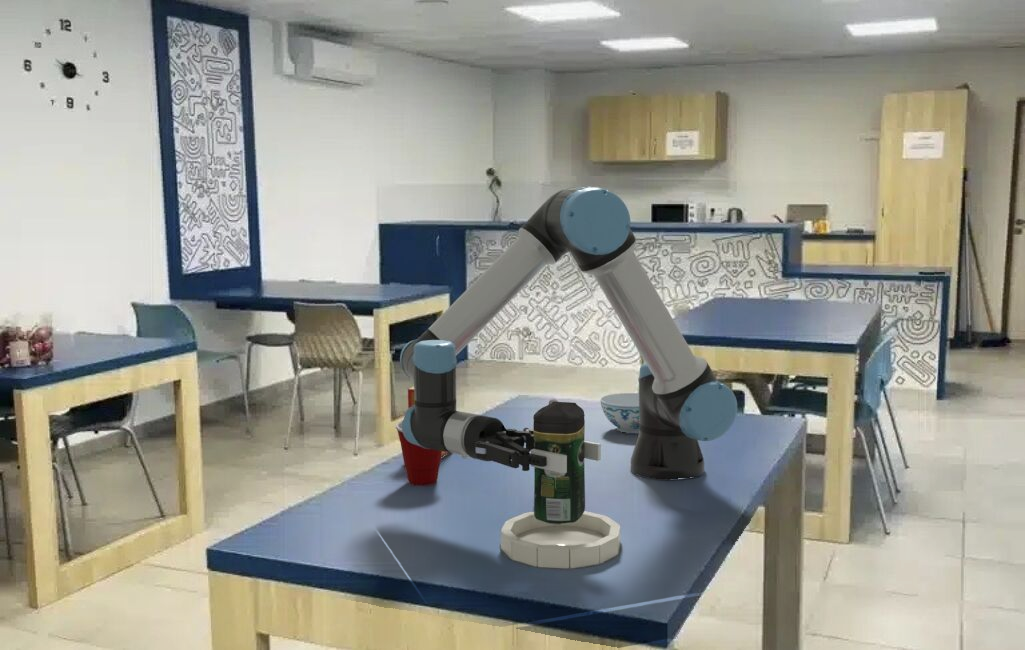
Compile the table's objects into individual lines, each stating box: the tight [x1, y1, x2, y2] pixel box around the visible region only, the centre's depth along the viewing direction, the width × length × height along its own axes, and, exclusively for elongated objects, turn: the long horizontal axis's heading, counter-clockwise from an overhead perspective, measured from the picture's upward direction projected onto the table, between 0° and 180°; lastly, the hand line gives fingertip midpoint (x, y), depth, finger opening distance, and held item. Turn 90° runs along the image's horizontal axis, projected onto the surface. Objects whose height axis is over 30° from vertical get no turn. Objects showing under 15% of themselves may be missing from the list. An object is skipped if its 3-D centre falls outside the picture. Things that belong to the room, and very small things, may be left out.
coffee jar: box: [532, 401, 586, 524], centre depth 158 cm, size 10×8×19 cm
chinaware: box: [599, 392, 639, 434], centre depth 238 cm, size 15×15×8 cm
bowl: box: [500, 510, 621, 570], centre depth 160 cm, size 19×19×3 cm
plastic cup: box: [395, 420, 442, 487], centre depth 198 cm, size 11×11×12 cm
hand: (582, 458), depth 155 cm, fingers closed on coffee jar, 8 cm apart
